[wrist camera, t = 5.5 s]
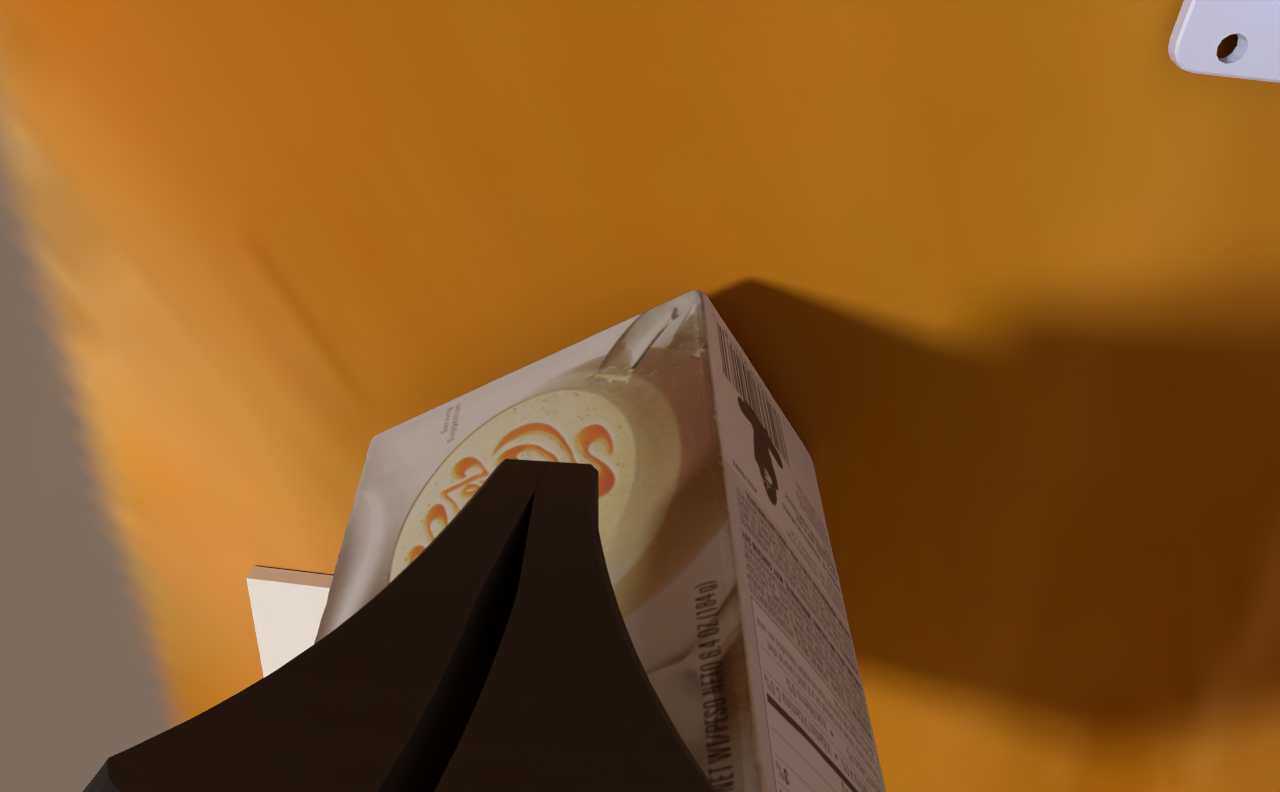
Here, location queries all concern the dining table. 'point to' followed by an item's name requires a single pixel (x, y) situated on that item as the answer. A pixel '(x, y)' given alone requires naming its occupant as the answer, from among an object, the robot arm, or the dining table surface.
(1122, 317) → the dining table surface
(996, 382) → the dining table surface
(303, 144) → the dining table surface
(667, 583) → the coffee box
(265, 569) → the mat
